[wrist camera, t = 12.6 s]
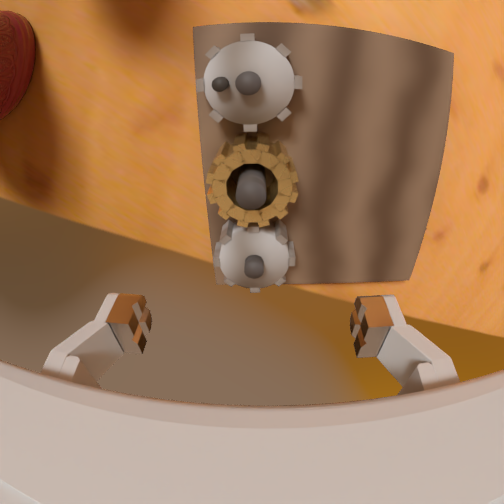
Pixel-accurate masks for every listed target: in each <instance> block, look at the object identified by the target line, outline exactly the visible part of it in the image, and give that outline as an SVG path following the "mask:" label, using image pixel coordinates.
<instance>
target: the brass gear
mask: <svg viewBox="0 0 504 504" xmlns="http://www.w3.org/2000/svg"><path fill="white" fill-rule="evenodd" d="M255 163H259V164H261V165H263V166H265V167H266V168H268V169H270V170H271V171H272V172H273V174H274V175H275V178H274V179H273V181H272V183H271V184H270V186H268V187H266V201H265V203H264V204H263V205H262V206H261V207H260V208H258V209H255V210H248V209H245V208H243V207H241V206H240V205H239V204H238V202H237V200H236V190H237V185H236V183H235V182H234V180H233V179H232V177H231V172H232V171H233V170H234V169H236V168H238V167H239V166H241V165H243V164H255ZM295 182H299V180H298V176H297V172H296V169H295V166H294V163H293V160H292V157H291V156H290V157H289V156H288V153H287V149H286V147H285V146H284V145H283V144H282V143H281V142H280V141H279V140H278V141H277V142H276V143H275V144H274V143H272V142H270V141H269V137H268V134H265V133H261V132H258V134H257V137H248V136H247V133H246V132H245V133H241V134H238V135H236V137H235V140H234V143H232V144H231V145H230V144H229V143H228V142H227V141H226V142H225V143H224V144H223V145H222V146H221V147H220V148H219V150H218V152H217V154H216V157H215V158H214V160H213V162H212V164H211V166H210V168H209V171H208V173H207V179H206V183H207V184H211V185H210V188H209V190H208V193H207V196H208V199H209V201H210V204H214V203H217V204H218V205H219V211H218V214H219V215H220V216H221V217H222V218H224V219H225V220H227V219H228V218H229V217H232V218H234V219H237V226H242V227H248V223H249V222H258V225H259V227H264V226H268V225H270V220H269V219H271V218H273V217H275V216H277V217H278V218H279V219H280V220H281V219H282V218H283V217H284V216H285V215H286V214H288V208H287V204H288V202H292V203H295V202H296V199H297V196H298V191H297V187H296V183H295Z"/></svg>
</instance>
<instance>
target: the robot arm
mask: <svg viewBox="0 0 504 504" xmlns="http://www.w3.org/2000/svg"><path fill="white" fill-rule="evenodd" d="M146 303H147V302H146V299H145V296H143V295H135V294H123V293H121V294H119V293H109V294H108V295H107V296H106V298H105V300H104V302H103V304H102V306H101V308H100V310H99V312H98V314H97V316H96V318H95V320H94V321H90V322H89V323H87V324H86V325H85V326H84V327H82V328H81V329H79V330H78V331H77V332H75V333H74V334H72V335H71V336H70V337H69V338H67V339H66V340H65V341H63V342H62V343H60V344H59V345H58V346H56V347H55V348H54V349H52V350H51V352H50V354H49V356H48V358H47V360H46V362H45V364H44V366H43V368H42V371H41V373H39V372H35V371H32V370H29V369H26V368H23V367H20V366H17V365H14V364H11V363H9V362H6V361H3V360H0V504H504V370H501V371H498V372H495V373H491V374H488V375H485V376H481V377H478V378H475V379H471V380H467V381H463V382H460V381H459V378H458V375H457V373H456V370H455V368H454V365H453V363H452V360H451V358H450V357H449V356H448V355H447V354H445V353H444V352H443V351H442V350H441V349H439V348H438V347H437V346H436V345H435V344H433V343H432V342H431V341H430V340H428V339H427V338H426V337H425V336H423V335H422V334H421V333H420V332H418V331H417V330H416V329H415V328H413V327H412V326H411V325H407V324H406V322H405V319H404V317H403V314H402V312H401V309H400V307H399V305H398V302H397V300H396V298H395V296H394V295H381V296H380V295H378V296H357V298H356V299H355V303H354V305H355V308H356V309H355V310H354V311H353V312H352V314H351V318H350V330H351V334H352V336H353V337H354V338H355V342H354V347H355V352H356V356H357V358H362V357H377V358H378V359H379V360H380V362H381V363H382V364H383V365H384V366H385V367H386V368H387V370H388V371H389V372H390V373H391V374H392V375H393V376H394V377H395V379H396V380H397V381H398V382H399V383H400V384H401V385H402V387H403V388H402V389H401V391H400V392H399V393H398V395H397V396H391V397H384V398H377V399H369V400H362V401H361V400H360V401H351V402H342V403H329V404H312V405H284V406H251V405H248V406H247V405H224V404H208V403H194V402H184V401H175V400H166V399H158V398H152V397H145V396H138V395H132V394H126V393H120V392H115V391H110V390H105V389H102V388H101V387H100V385H99V384H98V383H97V381H98V379H100V377H101V376H102V375H103V374H104V373H105V372H106V371H107V370H108V369H109V368H110V367H111V366H112V365H113V364H114V363H115V362H116V361H117V360H118V359H119V358H120V357H121V356H122V355H123V354H124V352H125V353H135V354H143V351H144V348H145V345H146V342H147V341H146V338H145V336H146V335H147V334H148V333H150V330H151V325H152V324H151V323H152V317H151V313H150V310H149V309H148V308H146V307H145V305H146Z"/></svg>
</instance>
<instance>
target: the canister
mask: <svg viewBox="0 0 504 504" xmlns="http://www.w3.org/2000/svg"><path fill="white" fill-rule="evenodd" d="M34 60H35V40H34V34H33V31H32V28H31V26H30V24H29V22H28V21H27V20H26V18H25V17H23V16H22V15H20V14H17V13H14V12H12V11H0V120H1V119H3V118H4V117H5V116H6V115H8V114H9V113H10V112H12V111H13V110H14V109H15V108H16V106H17V105H18V104H19V102H20V101H21V99H22V98H23V96H24V94H25V92H26V90H27V87H28V85H29V82H30V79H31V76H32V72H33V67H34Z"/></svg>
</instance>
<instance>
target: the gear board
mask: <svg viewBox="0 0 504 504" xmlns="http://www.w3.org/2000/svg"><path fill="white" fill-rule="evenodd" d="M193 40H194V59H195V76H196V92H197V105H198V118H199V130H200V142H201V153H202V164H203V174H204V184H205V194H206V203H207V212H208V221H209V230H210V238H211V246H212V254H213V263H214V270H215V277H216V284H228V285H229V286H233V285H234V284H237V285H239V286H242V287H246V288H250V293H252V292H253V293H254V292H255V293H257V292H260V288H264V287H268V286H270V285H272V284H276V285H277V286H280V285H282V284H315V283H352V282H380V281H402V280H409V279H410V277H411V274H412V271H413V268H414V265H415V262H416V259H417V256H418V253H419V250H420V247H421V243H422V240H423V237H424V233H425V230H426V226H427V223H428V219H429V216H430V212H431V208H432V204H433V200H434V196H435V192H436V187H437V183H438V178H439V174H440V169H441V164H442V158H443V153H444V147H445V141H446V135H447V128H448V121H449V112H450V104H451V93H452V80H453V62H454V53H451V52H448V51H445V50H442V49H439V48H436V47H433V46H430V45H426V44H423V43H419V42H415V41H412V40H408V39H404V38H399V37H395V36H391V35H386V34H381V33H376V32H370V31H365V30H359V29H352V28H345V27H337V26H328V25H318V24H304V23H280V22H254V23H231V24H217V25H206V26H197V27H193ZM245 132H246V133H247V136H248V137H257V134H258V132H261V133H265V134H268V137H269V141H270V142H272V143H274V144H275V143H276V142H277V141H278V140H279V141H280V142H281V143H282V144H283V145H284V146H285V147H286V149H287V153H288V156H289V157H290V156H291V157H292V160H293V163H294V166H295V169H296V172H297V176H298V180H299V182H295V183H296V187H297V191H298V196H297V199H296V202H295V203H292V202H288V204H287V208H288V214H286V215H285V216H284V217H283V218H282V219H281V220H280V219H279V218H278V217H277V216H275V217H273V218H271V219H269V220H270V225H268V226H264V227H259V225H258V222H249V223H248V227H242V226H237V219H234V218H232V217H229V218H228V219H227V220H225V219H224V218H222V217H221V216H220V215H219V214H218V211H219V205H218V204H217V203H214V204H210V201H209V199H208V196H207V193H208V190H209V188H210V185H211V184H207V183H206V179H207V173H208V171H209V168H210V166H211V164H212V162H213V160H214V158H215V157H216V154H217V152H218V150H219V148H220V147H221V146H222V145H223V144H224V143H225V142H226V141H227V142H228V143H229V144H230V145H231V144H232V143H234V140H235V137H236V135H238V134H241V133H245ZM231 177H232V179H233V180H234V182H235V183H236V185H237V190H236V200H237V202H238V204H239V205H240V206H241V207H243V208H245V209H248V210H255V209H258V208H260V207H261V206H262V205H263V204H264V203H265V201H266V187H268V186H270V184H271V183H272V181H273V179H274V178H275V175H274V174H273V172H272V171H271V170H270V169H268V168H266V167H265V166H263V165H261V164H259V163H255V164H243V165H241V166H239V167H238V168H236V169H234V170H233V171H232V172H231Z"/></svg>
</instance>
